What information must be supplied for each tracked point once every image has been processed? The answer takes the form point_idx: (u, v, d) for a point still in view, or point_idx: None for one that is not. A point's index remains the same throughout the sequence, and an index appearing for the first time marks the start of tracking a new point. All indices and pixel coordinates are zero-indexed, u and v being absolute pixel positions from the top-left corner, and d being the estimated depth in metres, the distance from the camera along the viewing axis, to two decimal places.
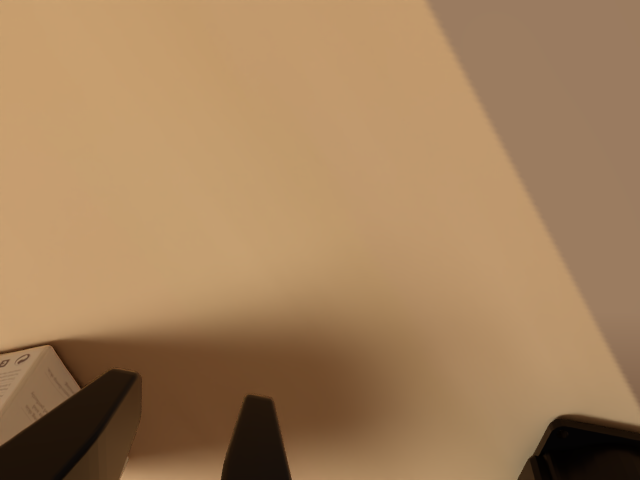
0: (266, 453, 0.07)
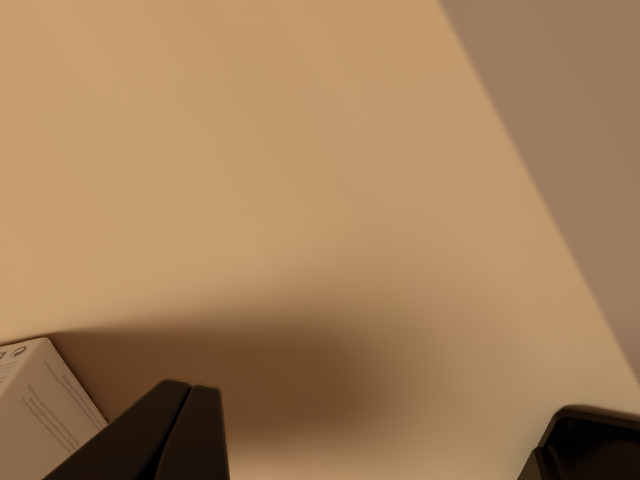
0: (206, 442, 0.07)
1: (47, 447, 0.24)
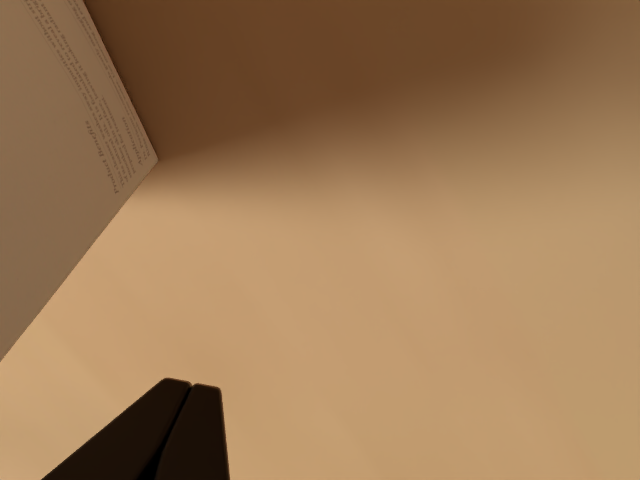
0: (205, 441, 0.07)
1: (40, 46, 0.15)
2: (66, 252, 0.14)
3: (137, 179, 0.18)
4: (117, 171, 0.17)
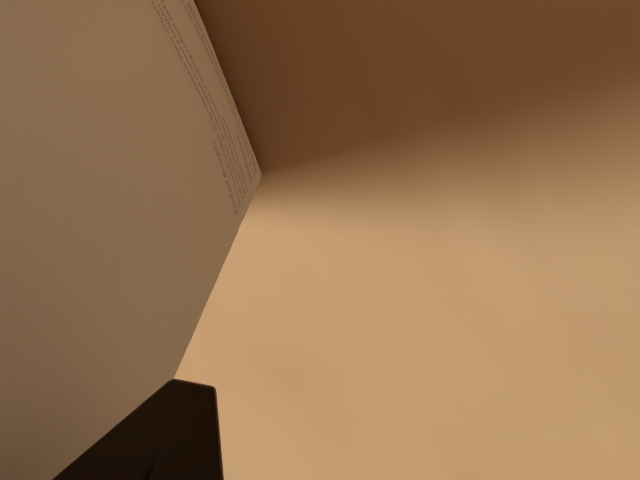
0: (199, 440, 0.07)
1: (175, 67, 0.15)
2: (205, 278, 0.14)
3: (249, 198, 0.18)
4: (236, 191, 0.17)
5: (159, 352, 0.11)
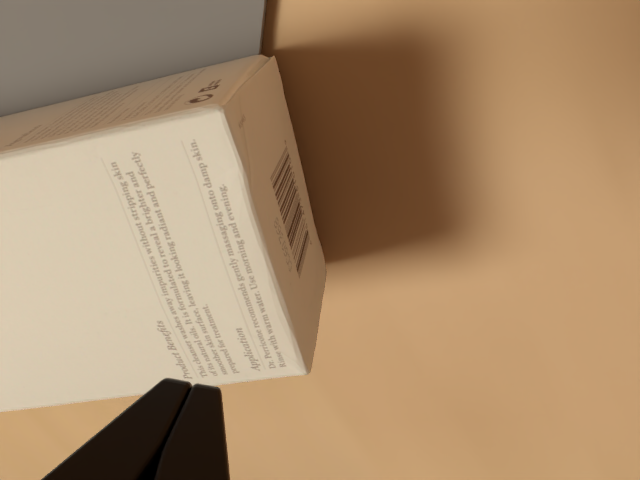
0: (205, 441, 0.07)
1: (125, 251, 0.14)
2: (86, 391, 0.17)
3: (241, 378, 0.16)
4: (197, 365, 0.16)
5: None
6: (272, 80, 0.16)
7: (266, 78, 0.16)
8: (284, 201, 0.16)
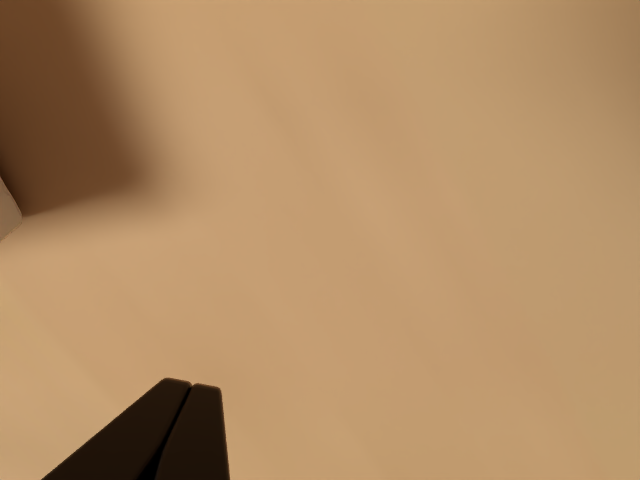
0: (206, 441, 0.07)
1: None
2: None
3: None
4: None
5: None
6: None
7: None
8: None
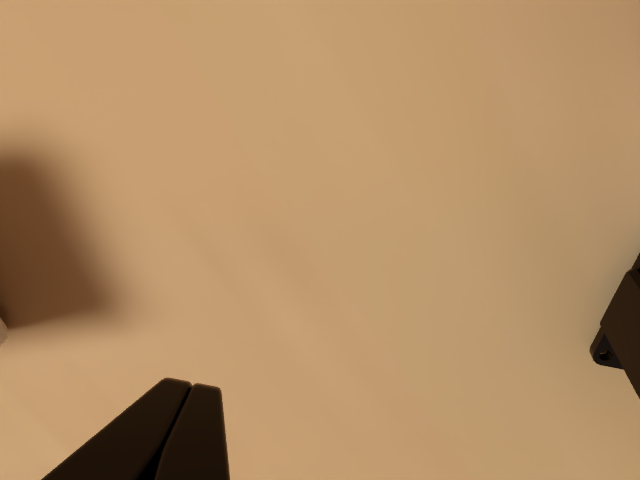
0: (206, 441, 0.07)
1: None
2: None
3: None
4: None
5: None
6: None
7: None
8: None
